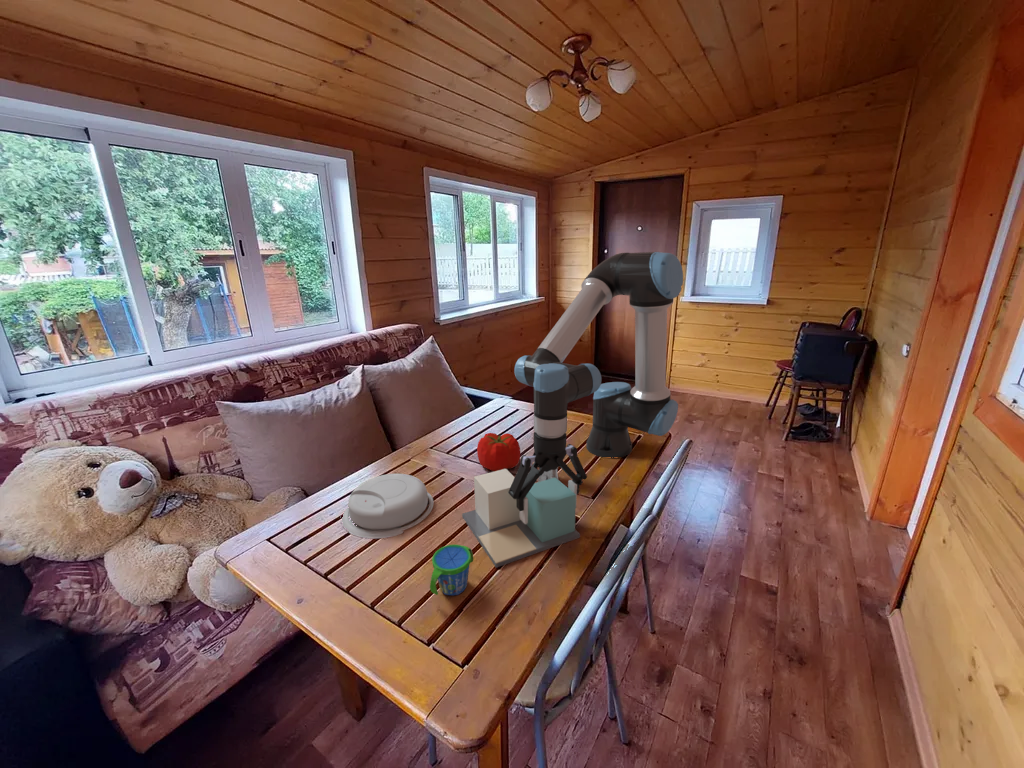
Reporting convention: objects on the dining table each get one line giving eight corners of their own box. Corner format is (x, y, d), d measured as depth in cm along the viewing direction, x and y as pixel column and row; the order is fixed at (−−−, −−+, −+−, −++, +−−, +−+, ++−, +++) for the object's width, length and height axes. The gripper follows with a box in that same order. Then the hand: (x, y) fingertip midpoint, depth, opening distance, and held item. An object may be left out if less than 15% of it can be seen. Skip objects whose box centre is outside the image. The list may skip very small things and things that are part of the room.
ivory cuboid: (506, 501, 115) (505, 468, 112) (522, 519, 107) (521, 484, 104) (475, 510, 111) (473, 476, 108) (489, 529, 103) (488, 493, 100)
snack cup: (445, 614, 81) (442, 581, 78) (419, 594, 85) (416, 563, 83) (486, 579, 89) (485, 549, 87) (461, 563, 94) (459, 534, 91)
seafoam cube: (554, 511, 110) (555, 477, 107) (574, 531, 102) (575, 494, 99) (524, 521, 106) (523, 486, 103) (542, 542, 99) (542, 504, 96)
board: (536, 495, 120) (536, 491, 119) (579, 537, 102) (580, 532, 101) (462, 516, 110) (462, 512, 110) (496, 567, 92) (495, 562, 92)
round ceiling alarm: (454, 509, 114) (453, 489, 112) (366, 553, 98) (363, 530, 96) (407, 476, 132) (405, 458, 130) (325, 508, 116) (322, 488, 114)
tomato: (470, 472, 132) (469, 441, 129) (488, 454, 144) (487, 425, 141) (511, 480, 128) (510, 448, 124) (526, 461, 139) (526, 431, 136)
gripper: (585, 417, 105) (581, 493, 112) (493, 436, 95) (495, 518, 101) (604, 427, 99) (599, 507, 105) (508, 449, 88) (509, 536, 94)
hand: (548, 513), depth 103 cm, fingers open, 13 cm apart
